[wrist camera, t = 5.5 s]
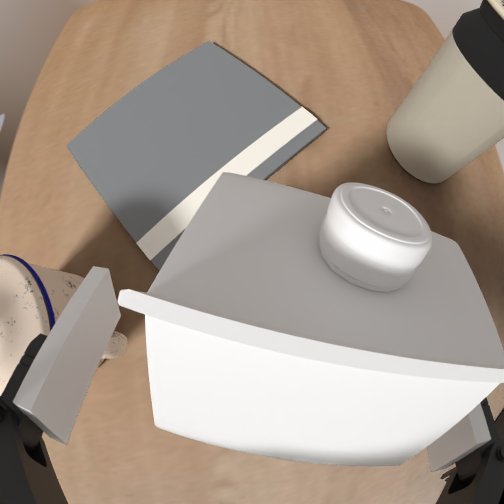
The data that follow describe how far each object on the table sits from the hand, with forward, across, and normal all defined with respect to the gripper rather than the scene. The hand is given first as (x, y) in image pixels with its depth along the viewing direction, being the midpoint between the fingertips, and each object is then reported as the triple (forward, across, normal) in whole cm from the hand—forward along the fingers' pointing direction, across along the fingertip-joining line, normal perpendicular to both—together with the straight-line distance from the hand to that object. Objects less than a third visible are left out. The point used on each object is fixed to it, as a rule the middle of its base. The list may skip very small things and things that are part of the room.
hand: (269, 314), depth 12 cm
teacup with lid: (+5, -14, -10) cm, 18 cm away
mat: (+17, -8, +3) cm, 19 cm away
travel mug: (+19, +14, +4) cm, 24 cm away
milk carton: (+7, +1, -8) cm, 11 cm away
